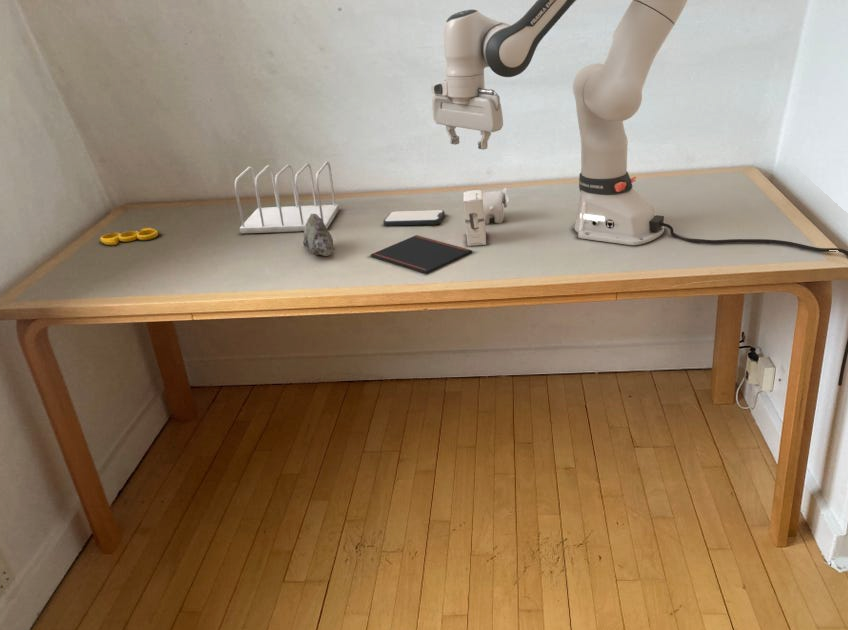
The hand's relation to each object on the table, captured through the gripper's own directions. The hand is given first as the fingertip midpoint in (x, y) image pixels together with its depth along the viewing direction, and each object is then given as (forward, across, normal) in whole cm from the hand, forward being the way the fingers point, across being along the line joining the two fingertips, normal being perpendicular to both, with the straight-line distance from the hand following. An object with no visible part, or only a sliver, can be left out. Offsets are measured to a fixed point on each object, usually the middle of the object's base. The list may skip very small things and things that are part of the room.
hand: (468, 146), depth 187 cm
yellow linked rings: (+25, +85, +55) cm, 104 cm away
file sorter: (+25, +55, +19) cm, 63 cm away
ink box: (+24, -1, 0) cm, 24 cm away
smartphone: (+24, +24, -2) cm, 34 cm away
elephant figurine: (+24, +7, -14) cm, 29 cm away
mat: (+24, +4, +15) cm, 29 cm away
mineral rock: (+24, +28, +30) cm, 47 cm away
